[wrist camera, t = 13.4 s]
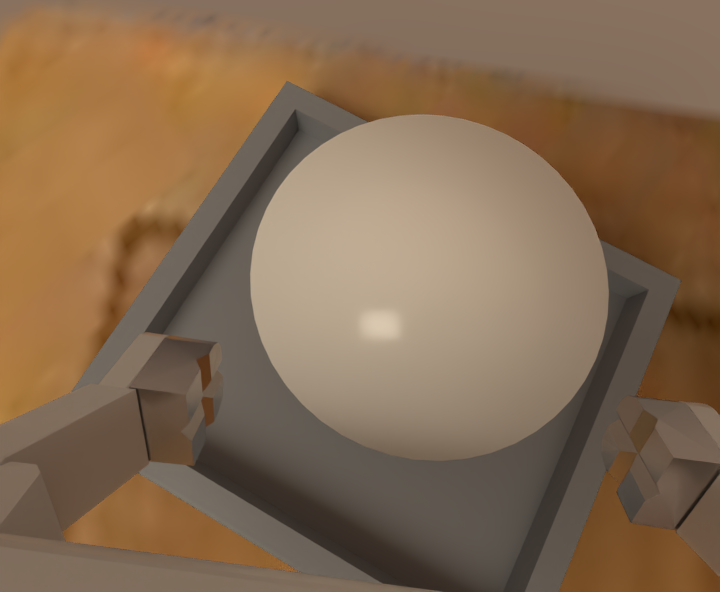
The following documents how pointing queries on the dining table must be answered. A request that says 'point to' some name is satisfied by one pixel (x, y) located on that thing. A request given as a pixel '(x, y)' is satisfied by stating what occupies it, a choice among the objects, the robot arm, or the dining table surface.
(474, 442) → the cream capsule shape
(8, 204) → the dining table surface
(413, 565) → the serving tray
